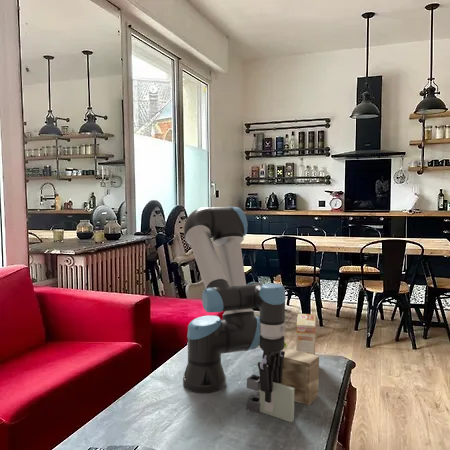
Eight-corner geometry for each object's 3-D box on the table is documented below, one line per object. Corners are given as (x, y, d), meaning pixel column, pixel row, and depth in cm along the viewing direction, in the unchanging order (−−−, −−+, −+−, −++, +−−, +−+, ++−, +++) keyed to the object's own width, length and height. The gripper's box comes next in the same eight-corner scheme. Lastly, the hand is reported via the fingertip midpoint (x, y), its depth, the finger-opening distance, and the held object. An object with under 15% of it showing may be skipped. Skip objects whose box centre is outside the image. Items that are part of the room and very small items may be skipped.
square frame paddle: (246, 409, 142) (246, 378, 141) (253, 404, 146) (253, 374, 145) (289, 424, 134) (290, 391, 133) (295, 418, 137) (296, 386, 136)
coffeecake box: (314, 378, 165) (315, 326, 163) (294, 376, 166) (295, 324, 165) (314, 362, 180) (315, 314, 178) (296, 360, 181) (297, 313, 179)
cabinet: (257, 400, 148) (258, 358, 147) (277, 384, 160) (278, 346, 158) (300, 413, 140) (301, 370, 138) (318, 396, 151) (319, 355, 150)
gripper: (271, 345, 129) (270, 423, 131) (294, 331, 141) (292, 403, 143) (248, 339, 133) (248, 415, 136) (272, 326, 145) (271, 396, 148)
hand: (271, 409), depth 140 cm, fingers closed on square frame paddle, 2 cm apart
